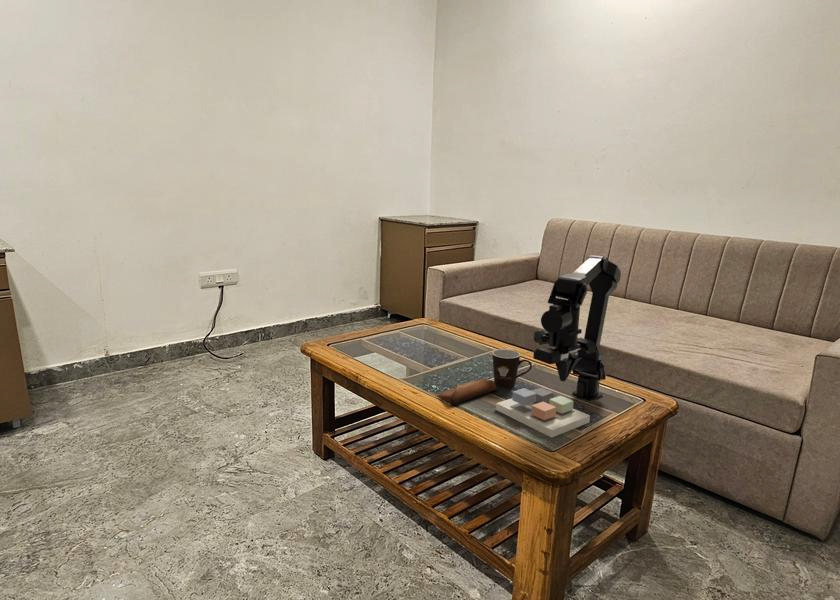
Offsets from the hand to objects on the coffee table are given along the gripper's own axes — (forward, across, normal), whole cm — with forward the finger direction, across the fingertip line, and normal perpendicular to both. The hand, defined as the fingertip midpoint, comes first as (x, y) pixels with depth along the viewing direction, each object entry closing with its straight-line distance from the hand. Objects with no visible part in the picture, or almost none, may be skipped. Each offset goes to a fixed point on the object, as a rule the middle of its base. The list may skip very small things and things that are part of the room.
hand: (562, 380), depth 148 cm
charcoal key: (+8, 0, -7) cm, 11 cm away
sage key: (+8, 0, 0) cm, 8 cm away
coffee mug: (+11, -5, -24) cm, 27 cm away
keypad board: (+11, +3, -4) cm, 12 cm away
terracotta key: (+8, +7, 0) cm, 11 cm away
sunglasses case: (+11, +11, -26) cm, 31 cm away
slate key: (+7, +7, -7) cm, 12 cm away
